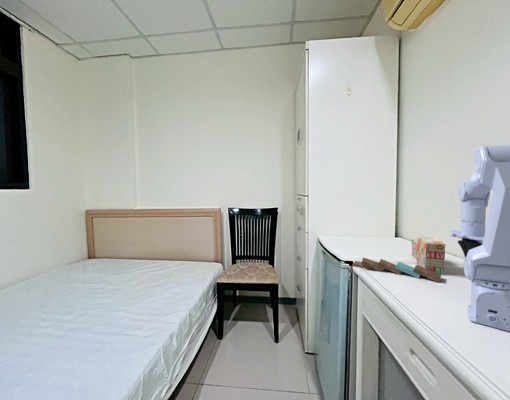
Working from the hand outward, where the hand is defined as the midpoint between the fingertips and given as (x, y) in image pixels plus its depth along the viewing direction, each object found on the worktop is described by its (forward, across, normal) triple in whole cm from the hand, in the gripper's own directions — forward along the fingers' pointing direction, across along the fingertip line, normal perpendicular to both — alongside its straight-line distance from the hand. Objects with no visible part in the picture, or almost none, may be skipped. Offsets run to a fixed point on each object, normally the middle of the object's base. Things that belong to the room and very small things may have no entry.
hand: (471, 263), depth 75 cm
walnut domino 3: (+9, -18, -11) cm, 23 cm away
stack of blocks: (+10, -26, +5) cm, 28 cm away
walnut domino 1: (+9, -23, -19) cm, 32 cm away
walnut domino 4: (+9, -10, -2) cm, 13 cm away
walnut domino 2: (+8, -21, -17) cm, 28 cm away
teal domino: (+9, -14, -7) cm, 17 cm away
